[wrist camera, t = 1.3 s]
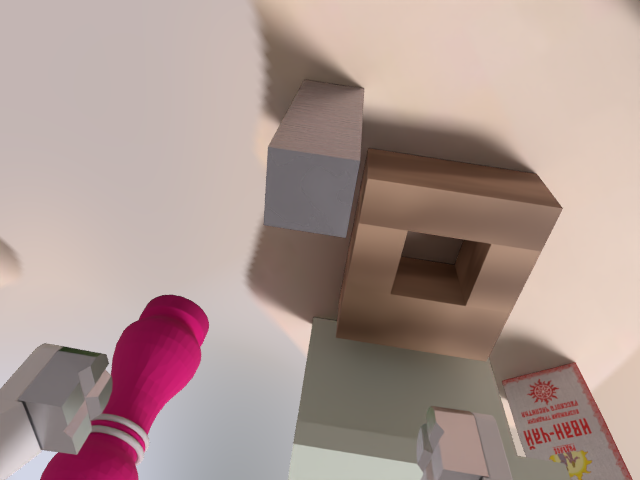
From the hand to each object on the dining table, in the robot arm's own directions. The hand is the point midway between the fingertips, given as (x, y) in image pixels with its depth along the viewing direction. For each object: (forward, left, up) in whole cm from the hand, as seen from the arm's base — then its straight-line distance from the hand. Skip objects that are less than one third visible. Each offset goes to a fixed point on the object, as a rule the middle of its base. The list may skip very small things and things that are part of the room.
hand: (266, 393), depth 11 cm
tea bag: (+23, +24, -23) cm, 40 cm away
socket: (+9, +9, -23) cm, 26 cm away
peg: (0, 0, -23) cm, 23 cm away
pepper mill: (+22, -12, -23) cm, 34 cm away
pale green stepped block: (+17, +9, -23) cm, 30 cm away
